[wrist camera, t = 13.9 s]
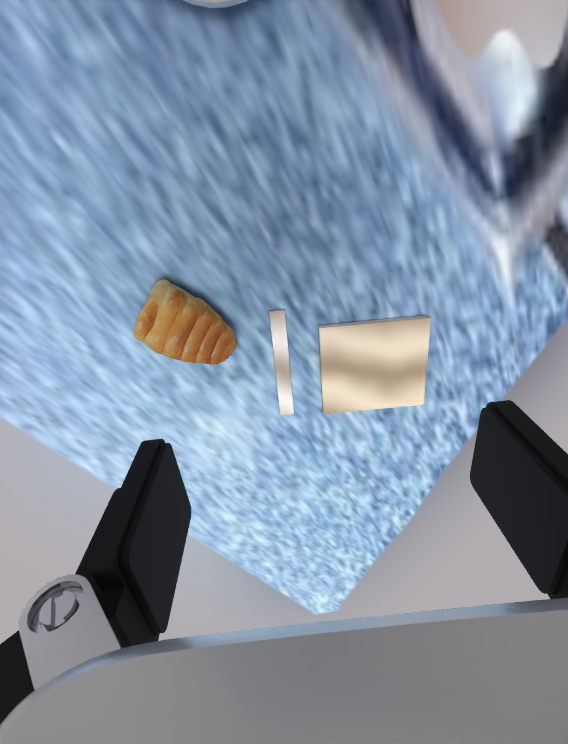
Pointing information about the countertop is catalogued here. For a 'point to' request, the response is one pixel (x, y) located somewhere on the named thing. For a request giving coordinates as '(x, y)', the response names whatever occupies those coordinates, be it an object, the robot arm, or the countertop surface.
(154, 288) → the pastry
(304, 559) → the countertop surface
